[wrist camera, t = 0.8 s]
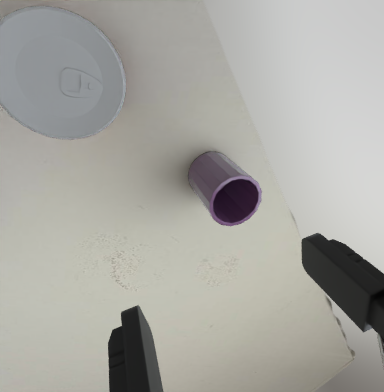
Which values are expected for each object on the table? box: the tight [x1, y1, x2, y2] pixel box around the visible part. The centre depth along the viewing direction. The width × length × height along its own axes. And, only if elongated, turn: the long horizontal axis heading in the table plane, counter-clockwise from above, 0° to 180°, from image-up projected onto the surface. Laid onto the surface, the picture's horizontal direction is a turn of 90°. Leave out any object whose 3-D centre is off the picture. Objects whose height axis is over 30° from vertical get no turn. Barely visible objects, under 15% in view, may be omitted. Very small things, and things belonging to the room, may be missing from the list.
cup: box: [188, 152, 262, 226], centre depth 32 cm, size 6×6×8 cm
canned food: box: [0, 6, 126, 139], centre depth 21 cm, size 8×8×11 cm
